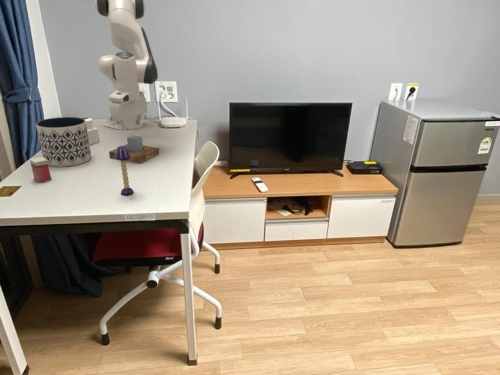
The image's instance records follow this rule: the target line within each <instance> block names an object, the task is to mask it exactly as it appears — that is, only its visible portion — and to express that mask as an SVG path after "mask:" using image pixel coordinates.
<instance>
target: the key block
mask: <svg viewBox="0 0 500 375" xmlns="http://www.w3.org/2000/svg"><path fill="white" fill-rule="evenodd" d="M126 141H127V143H126V144H128V151H129V152H135V153H138V152H140V151H142V150H143V145H144V139H143V136H140V135H133V134H132V135H129V136H127V137H126Z"/></svg>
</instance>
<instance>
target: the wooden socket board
mask: <svg viewBox="0 0 500 375" xmlns="http://www.w3.org/2000/svg"><path fill="white" fill-rule="evenodd" d="M123 146H126V147H127V149H128V143H126V144H123ZM116 151H117V148H114V149H111V150H109V151H108V154H109V155H108V156H109V159H112V160H116ZM128 152H129V151H128ZM129 154H130V159H128V160H126V162H130V163H135V164H140V165H141V164H144V163H145V162H147V161H149V160H151V159H153V158H155V157H157V156H158V155H160V148H159V147H155V146H149V145H144V144H143V150H142V151H140V152H138V153H135V152H129Z"/></svg>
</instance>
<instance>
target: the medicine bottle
mask: <svg viewBox="0 0 500 375" xmlns="http://www.w3.org/2000/svg"><path fill="white" fill-rule="evenodd" d="M81 118H82V119H84V120H85V121H86V126H87V132H88V138H89V145H90V146H91V145H93V144H94V145H95V144H97V143H100V134H99V128H98V127H94V122H93V121H94V120H93V118H90V117H81Z"/></svg>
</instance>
